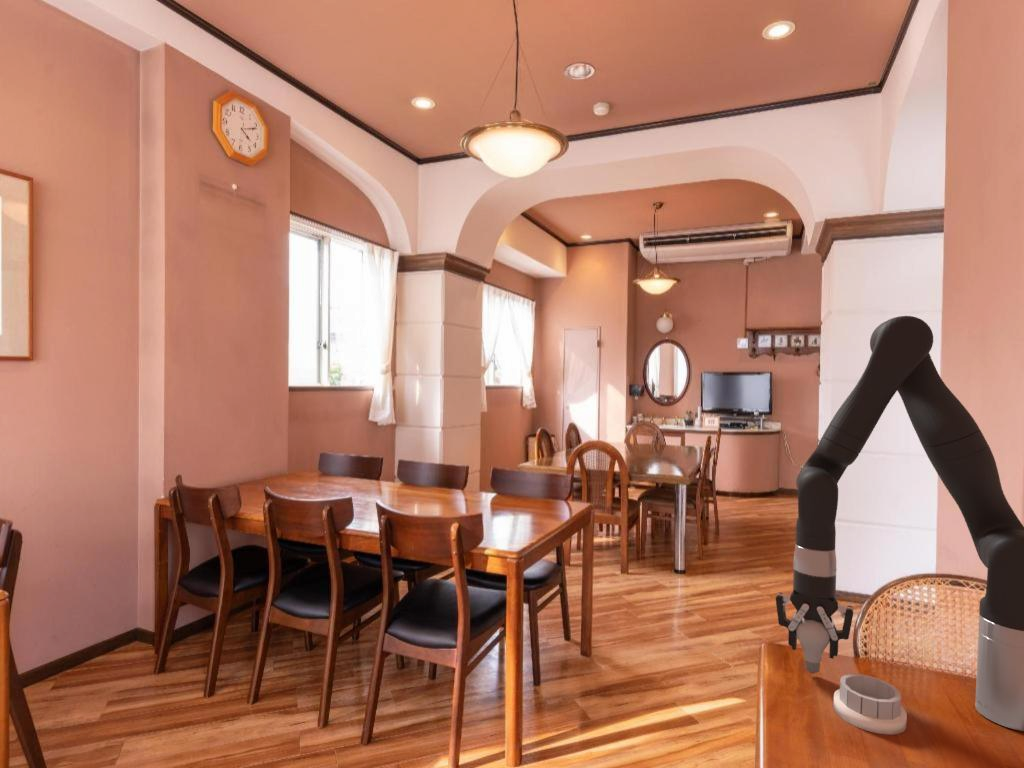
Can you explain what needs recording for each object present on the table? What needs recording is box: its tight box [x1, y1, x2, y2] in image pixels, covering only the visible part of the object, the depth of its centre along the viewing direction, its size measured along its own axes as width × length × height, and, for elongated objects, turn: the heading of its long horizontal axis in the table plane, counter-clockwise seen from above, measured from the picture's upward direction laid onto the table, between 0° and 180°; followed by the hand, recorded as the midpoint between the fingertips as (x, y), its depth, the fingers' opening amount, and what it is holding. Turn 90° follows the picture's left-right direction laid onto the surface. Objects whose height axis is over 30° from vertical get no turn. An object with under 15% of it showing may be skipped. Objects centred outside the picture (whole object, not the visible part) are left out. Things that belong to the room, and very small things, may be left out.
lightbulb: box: [796, 618, 831, 675], centre depth 117 cm, size 6×6×11 cm
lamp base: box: [832, 673, 908, 736], centre depth 104 cm, size 11×11×5 cm
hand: (812, 652), depth 117 cm, fingers closed on lightbulb, 6 cm apart
